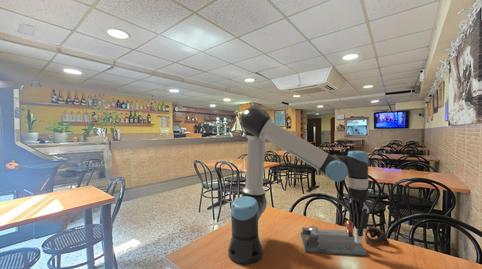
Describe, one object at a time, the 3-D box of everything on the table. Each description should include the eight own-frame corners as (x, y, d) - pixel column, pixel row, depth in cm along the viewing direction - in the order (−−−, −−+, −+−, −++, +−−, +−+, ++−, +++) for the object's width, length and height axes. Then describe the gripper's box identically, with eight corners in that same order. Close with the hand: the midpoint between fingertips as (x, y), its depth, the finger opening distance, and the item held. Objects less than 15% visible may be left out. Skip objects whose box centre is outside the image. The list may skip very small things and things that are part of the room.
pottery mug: (395, 250, 92) (389, 236, 90) (375, 257, 94) (368, 244, 92) (379, 230, 104) (374, 218, 102) (361, 237, 105) (355, 225, 104)
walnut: (306, 244, 94) (306, 238, 94) (305, 241, 96) (305, 235, 96) (312, 244, 93) (311, 238, 93) (310, 241, 96) (310, 235, 96)
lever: (303, 240, 96) (303, 221, 96) (302, 235, 100) (301, 217, 100) (354, 243, 93) (354, 223, 92) (351, 238, 97) (350, 219, 97)
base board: (305, 252, 91) (304, 236, 91) (300, 236, 105) (300, 222, 105) (366, 256, 87) (366, 239, 87) (353, 238, 101) (353, 224, 101)
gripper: (377, 191, 82) (377, 250, 82) (357, 183, 95) (357, 234, 95) (359, 192, 81) (359, 251, 82) (341, 183, 94) (341, 234, 95)
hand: (358, 242), depth 88 cm, fingers closed
